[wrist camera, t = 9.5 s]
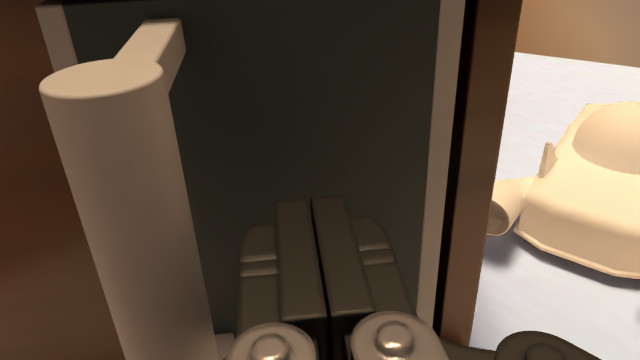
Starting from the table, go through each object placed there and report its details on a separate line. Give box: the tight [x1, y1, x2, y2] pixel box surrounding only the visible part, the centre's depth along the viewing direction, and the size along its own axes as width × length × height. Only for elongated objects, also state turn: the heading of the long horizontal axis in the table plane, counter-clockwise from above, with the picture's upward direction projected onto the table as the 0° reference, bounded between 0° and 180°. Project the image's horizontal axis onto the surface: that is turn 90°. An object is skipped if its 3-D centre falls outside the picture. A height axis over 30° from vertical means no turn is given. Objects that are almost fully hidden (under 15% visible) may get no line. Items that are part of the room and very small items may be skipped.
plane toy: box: [486, 102, 640, 279], centre depth 29 cm, size 10×20×6 cm, turn 141°
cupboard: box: [0, 0, 522, 360], centre depth 20 cm, size 13×18×16 cm
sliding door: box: [35, 0, 465, 360], centre depth 12 cm, size 6×9×13 cm, turn 96°
